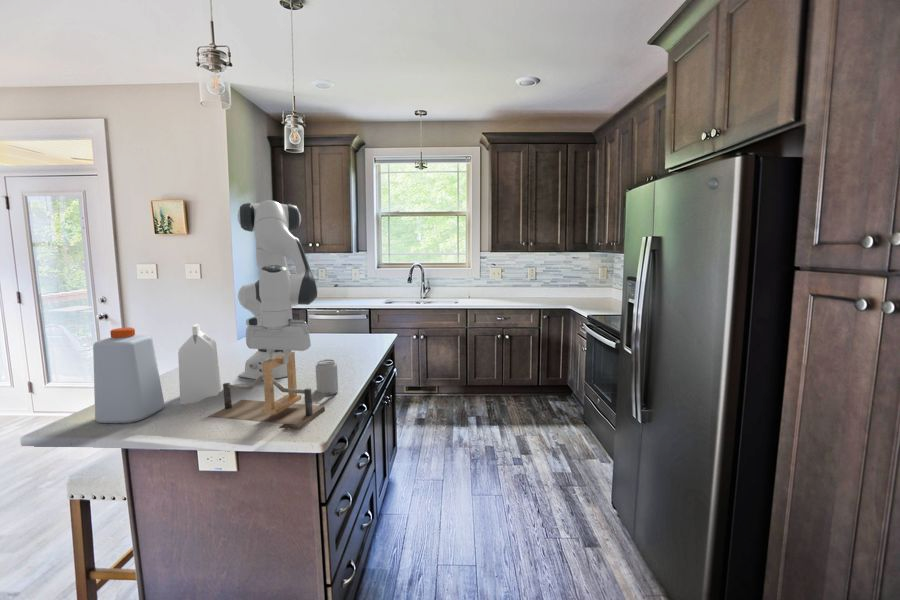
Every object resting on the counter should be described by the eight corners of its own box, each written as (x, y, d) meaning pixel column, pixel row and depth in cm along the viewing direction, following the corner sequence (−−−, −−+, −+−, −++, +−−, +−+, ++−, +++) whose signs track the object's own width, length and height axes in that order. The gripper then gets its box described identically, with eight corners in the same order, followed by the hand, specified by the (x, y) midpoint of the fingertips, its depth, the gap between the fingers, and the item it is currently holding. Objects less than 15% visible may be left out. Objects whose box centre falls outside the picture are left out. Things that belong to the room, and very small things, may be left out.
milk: (186, 393, 156) (179, 323, 153) (221, 389, 161) (216, 321, 158) (180, 404, 145) (173, 329, 142) (218, 399, 150) (212, 326, 147)
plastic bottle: (127, 406, 145) (118, 324, 141) (170, 406, 144) (162, 324, 141) (88, 424, 130) (77, 334, 126) (136, 424, 129) (127, 333, 126)
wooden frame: (261, 413, 127) (257, 362, 125) (287, 398, 140) (284, 351, 138) (276, 414, 126) (272, 362, 124) (301, 399, 139) (298, 352, 137)
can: (332, 397, 151) (330, 364, 149) (313, 396, 152) (311, 363, 151) (341, 390, 158) (340, 358, 157) (323, 389, 160) (321, 357, 158)
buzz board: (208, 421, 131) (204, 379, 129) (242, 403, 145) (239, 365, 144) (298, 429, 124) (295, 385, 122) (324, 410, 138) (322, 370, 137)
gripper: (313, 318, 130) (315, 362, 132) (255, 316, 135) (257, 359, 137) (301, 321, 124) (304, 367, 126) (241, 320, 129) (244, 364, 131)
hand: (279, 363), depth 131 cm, fingers closed on wooden frame
